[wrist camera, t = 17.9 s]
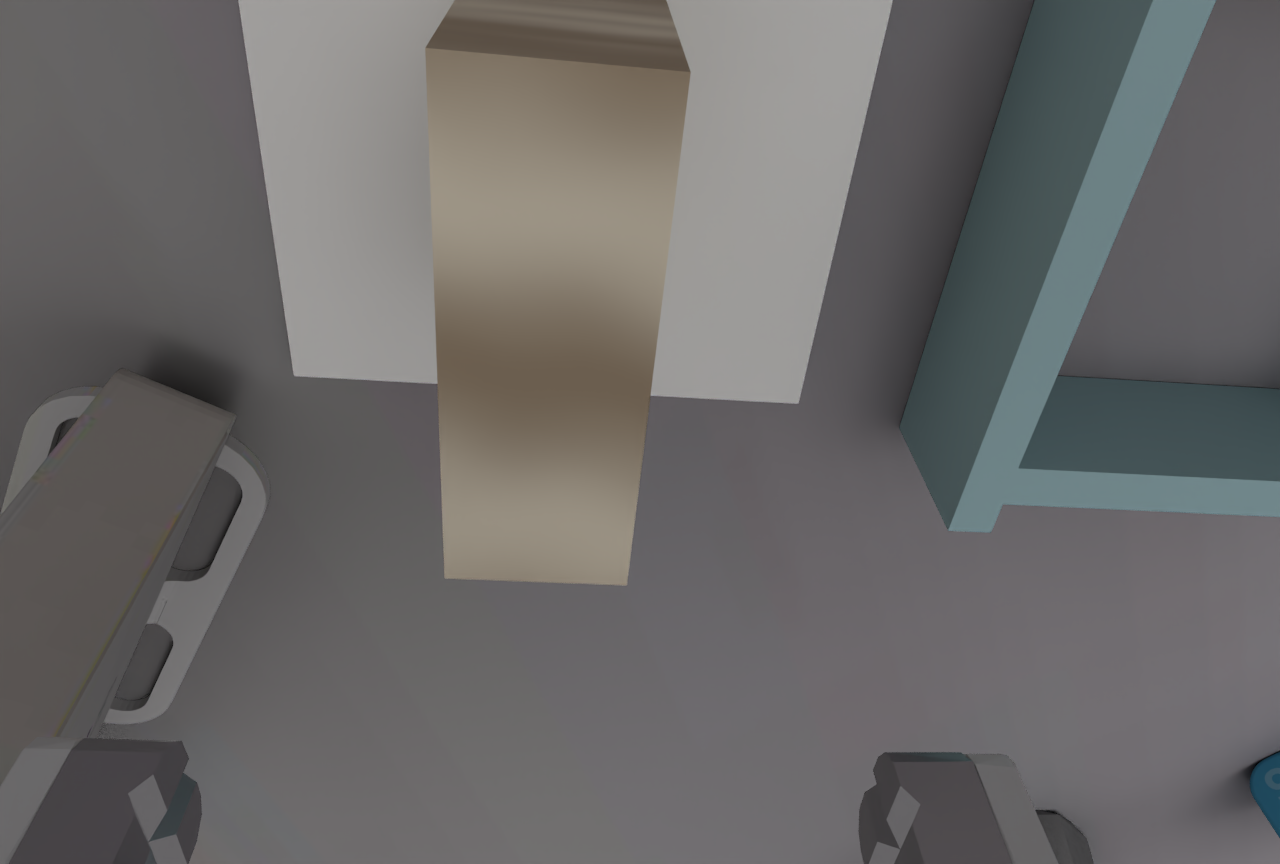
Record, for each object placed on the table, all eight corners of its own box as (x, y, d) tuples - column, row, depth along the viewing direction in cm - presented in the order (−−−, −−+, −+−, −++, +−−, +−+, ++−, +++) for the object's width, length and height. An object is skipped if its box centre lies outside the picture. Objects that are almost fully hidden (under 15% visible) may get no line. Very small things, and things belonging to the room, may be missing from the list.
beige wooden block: (498, -70, 24) (425, 47, 14) (648, -54, 24) (690, 71, 14) (495, 301, 30) (444, 578, 20) (614, 309, 31) (626, 585, 20)
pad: (212, -271, 22) (198, -272, 21) (924, -188, 24) (936, -187, 23) (301, 361, 33) (293, 376, 32) (793, 389, 34) (798, 403, 33)
